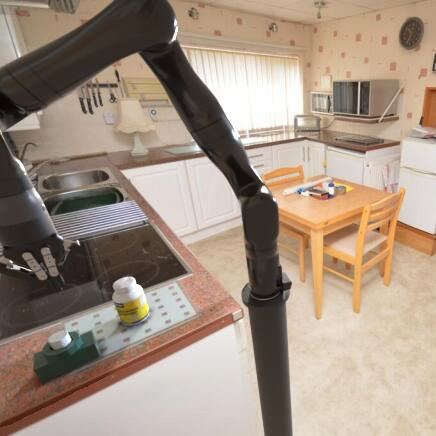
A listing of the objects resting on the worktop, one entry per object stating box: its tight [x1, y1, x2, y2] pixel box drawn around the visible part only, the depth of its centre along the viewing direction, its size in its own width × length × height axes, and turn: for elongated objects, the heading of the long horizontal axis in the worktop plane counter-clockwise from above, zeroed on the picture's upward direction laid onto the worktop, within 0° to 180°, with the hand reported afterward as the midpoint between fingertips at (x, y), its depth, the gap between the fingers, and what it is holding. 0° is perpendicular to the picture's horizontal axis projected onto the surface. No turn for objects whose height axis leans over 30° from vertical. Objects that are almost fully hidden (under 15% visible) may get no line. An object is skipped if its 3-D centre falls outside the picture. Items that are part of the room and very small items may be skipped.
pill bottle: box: [111, 276, 150, 326], centre depth 74 cm, size 6×6×12 cm
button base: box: [32, 329, 101, 384], centre depth 64 cm, size 10×6×6 cm, turn 131°
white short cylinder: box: [47, 330, 72, 350], centre depth 62 cm, size 3×3×2 cm
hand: (57, 289), depth 60 cm, fingers closed
